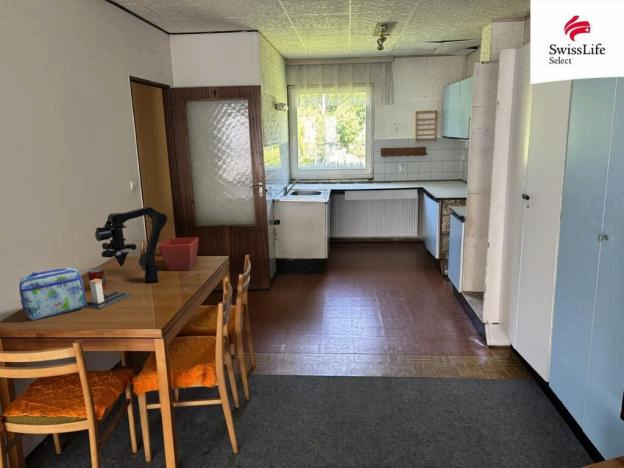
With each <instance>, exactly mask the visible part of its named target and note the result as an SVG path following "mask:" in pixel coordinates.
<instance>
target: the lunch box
mask: <svg viewBox="0 0 624 468" xmlns="http://www.w3.org/2000/svg"><path fill="white" fill-rule="evenodd" d="M83 283H84V282H83V278H82V276H81V274H80V272H79V270H78V269H76V268H74V267H62V268H61V267H60V268H55V269H50V270H45V271H39V272H34V271H32V273H31V274H27V275H24V276H23V277H21V278H20V279H19V283H18V284H19V286H18V287H19V289H18V291H19V296H20V297H19V298H20V304H21V305H22V310H23V312H24V314H25V316H26V317H27V318H28V319H30V320H31V321H37V319H38V320H41V319H44V318H47V317H48V318H49V317H53V316H56V315H60V314H65V313H68V312H69V313H70V312H72V311H76V310H80V309H82V308H85V307H84V306H85V303H87V299H86V296H85V295H86V294H85V293H86V292H85V289H84V284H83Z"/></svg>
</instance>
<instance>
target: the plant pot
mask: <svg viewBox="0 0 624 468" xmlns="http://www.w3.org/2000/svg"><path fill="white" fill-rule="evenodd" d="M198 249H199V237H177V238H176V237H174V238H170V237H169V238H167V239H166V240H164V241H163V242H161V243H160V244H159V245H158V250H159V252H160V255H161V258H162V260H163V262H164V264H165V267H166V268H167V271H169V272H171V271H174V272H175V271H189V270H191V269H192V268H193V267H194V266H195V264H196V261H197V256H198Z"/></svg>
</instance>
